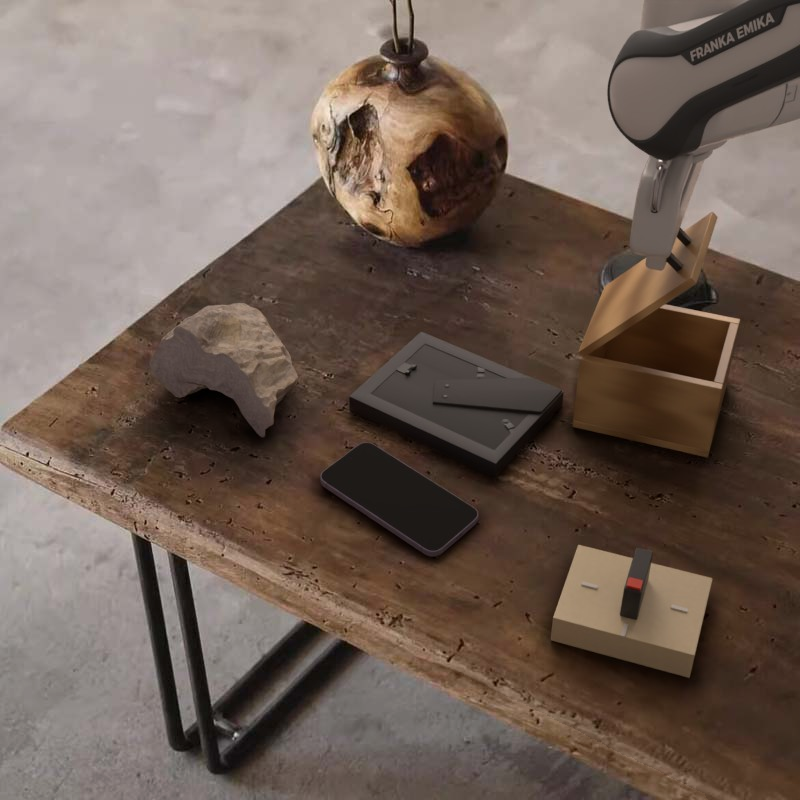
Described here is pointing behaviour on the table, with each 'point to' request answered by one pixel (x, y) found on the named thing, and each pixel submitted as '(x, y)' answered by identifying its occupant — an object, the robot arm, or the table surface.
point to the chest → (659, 380)
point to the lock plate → (623, 637)
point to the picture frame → (457, 403)
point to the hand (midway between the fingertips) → (663, 246)
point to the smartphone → (399, 498)
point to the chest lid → (648, 286)
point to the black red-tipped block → (636, 583)
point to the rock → (227, 360)
